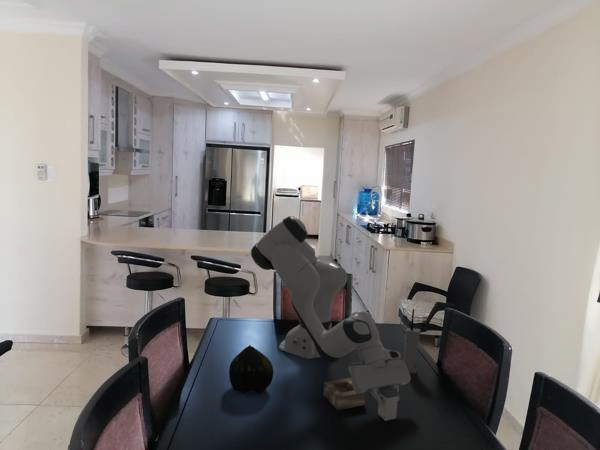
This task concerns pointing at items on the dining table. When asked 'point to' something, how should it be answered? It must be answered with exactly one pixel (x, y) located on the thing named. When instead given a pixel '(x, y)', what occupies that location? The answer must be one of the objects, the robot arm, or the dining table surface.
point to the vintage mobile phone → (411, 347)
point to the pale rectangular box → (388, 403)
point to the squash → (250, 371)
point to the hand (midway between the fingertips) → (389, 402)
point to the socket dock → (343, 394)
